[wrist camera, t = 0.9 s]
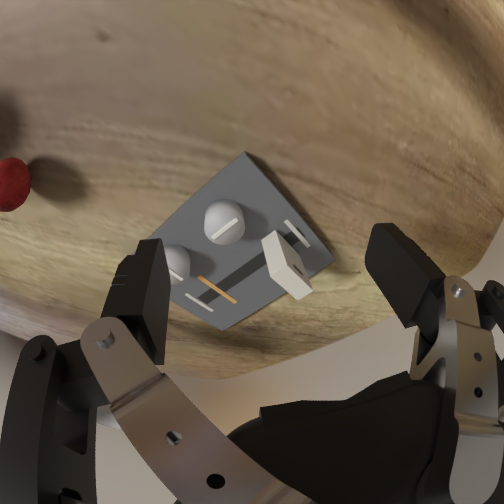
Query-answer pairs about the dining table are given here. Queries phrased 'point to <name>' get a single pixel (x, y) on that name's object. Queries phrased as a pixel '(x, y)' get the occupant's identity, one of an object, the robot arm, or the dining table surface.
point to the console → (233, 244)
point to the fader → (286, 266)
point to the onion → (13, 184)
